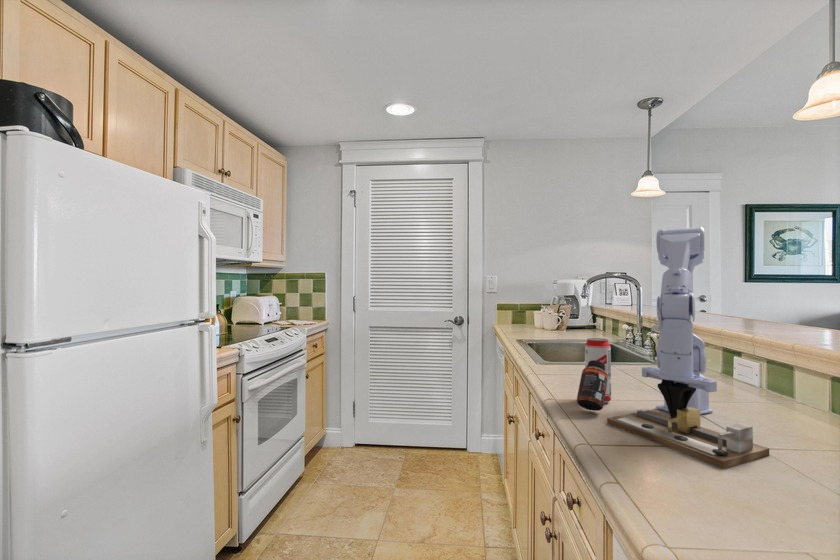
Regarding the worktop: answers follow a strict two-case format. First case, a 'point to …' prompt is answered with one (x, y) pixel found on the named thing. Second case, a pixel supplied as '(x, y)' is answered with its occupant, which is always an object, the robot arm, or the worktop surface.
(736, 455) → the board
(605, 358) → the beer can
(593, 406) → the supplement bottle
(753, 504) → the worktop surface
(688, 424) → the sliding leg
